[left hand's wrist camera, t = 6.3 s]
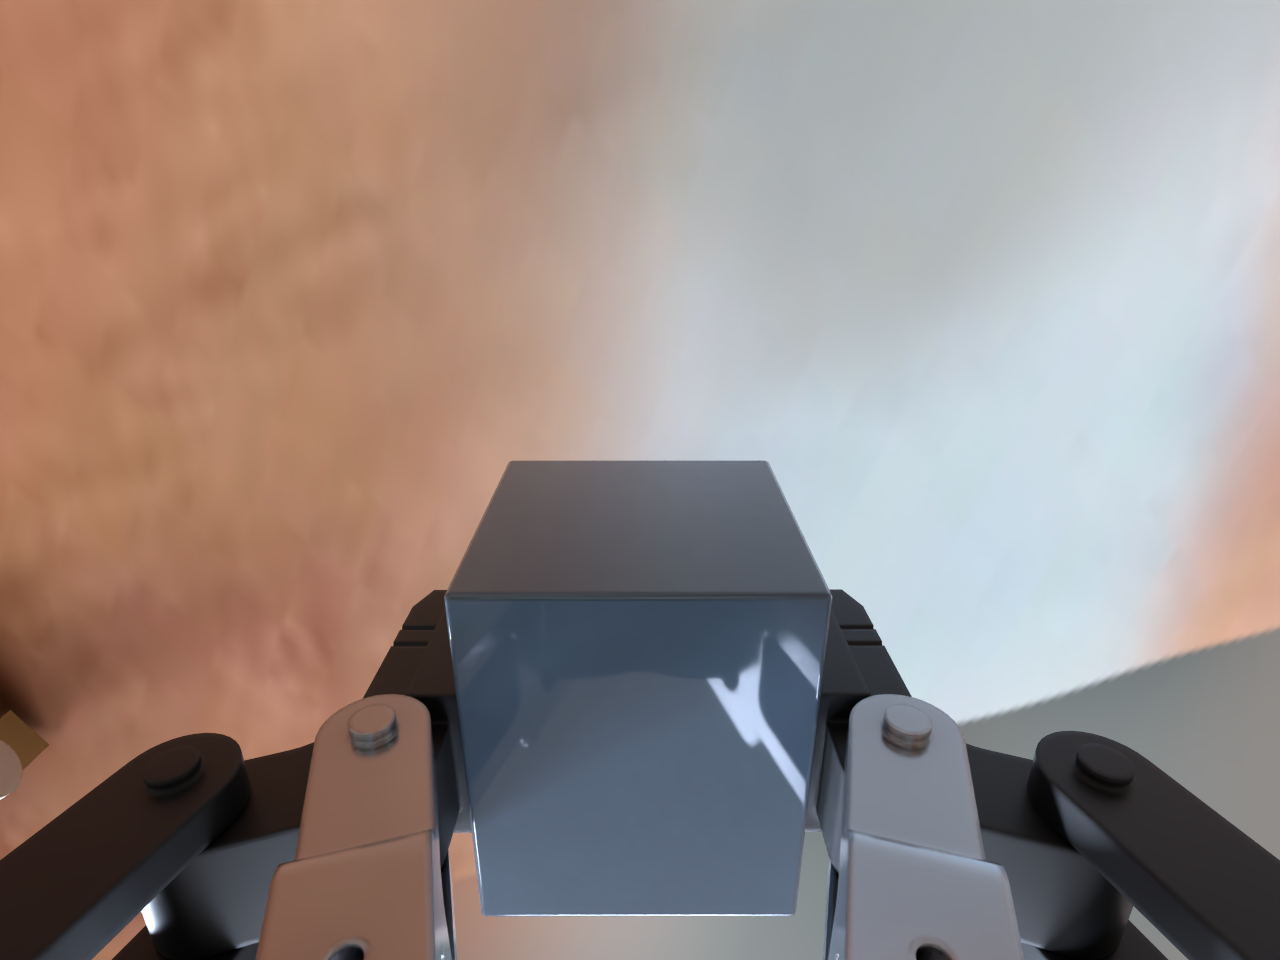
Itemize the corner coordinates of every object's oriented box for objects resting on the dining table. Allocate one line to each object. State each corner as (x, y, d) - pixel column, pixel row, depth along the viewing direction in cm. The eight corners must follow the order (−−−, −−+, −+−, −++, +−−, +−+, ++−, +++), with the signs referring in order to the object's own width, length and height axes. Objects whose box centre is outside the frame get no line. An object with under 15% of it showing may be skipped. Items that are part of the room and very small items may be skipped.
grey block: (508, 459, 12) (441, 594, 8) (769, 458, 12) (835, 595, 8) (526, 707, 14) (480, 919, 10) (751, 707, 14) (796, 919, 10)
